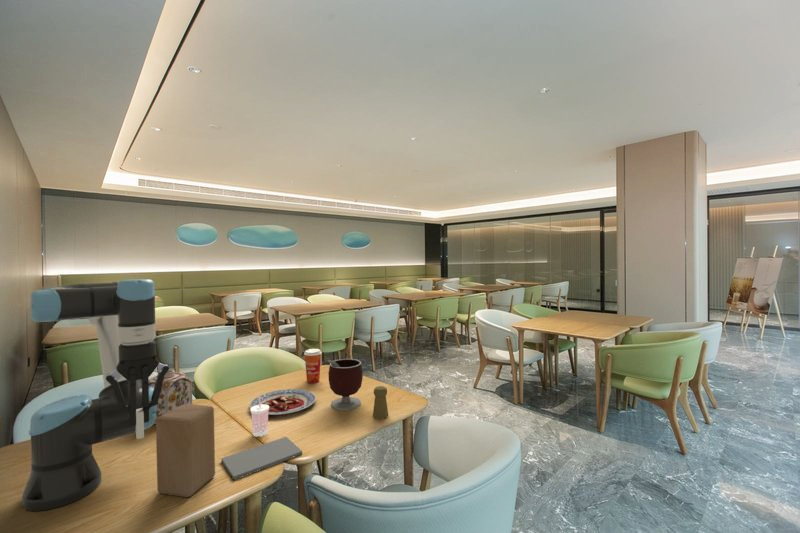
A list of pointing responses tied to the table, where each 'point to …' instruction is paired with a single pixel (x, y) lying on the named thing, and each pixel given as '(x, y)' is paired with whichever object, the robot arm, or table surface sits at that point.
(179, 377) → the decorative jar
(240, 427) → the table surface
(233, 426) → the table surface
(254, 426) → the beverage cup
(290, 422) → the table surface
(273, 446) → the mat
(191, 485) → the block
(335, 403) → the mate gourd
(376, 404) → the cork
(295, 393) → the ceramic plate
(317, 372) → the coffee cup
